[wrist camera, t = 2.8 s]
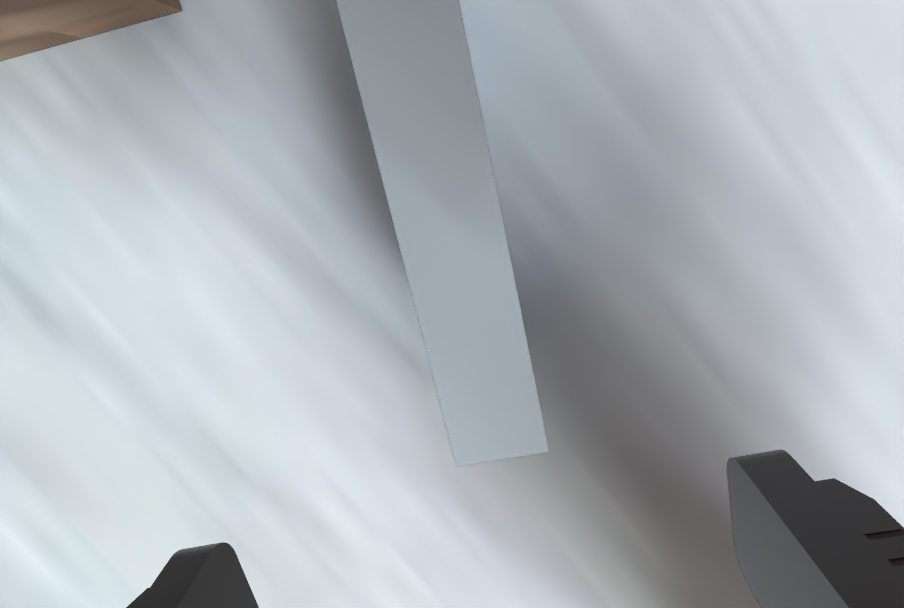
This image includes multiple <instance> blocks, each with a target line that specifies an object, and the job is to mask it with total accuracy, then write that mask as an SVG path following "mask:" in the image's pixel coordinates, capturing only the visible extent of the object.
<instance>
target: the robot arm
mask: <svg viewBox="0 0 904 608" xmlns="http://www.w3.org/2000/svg"><path fill="white" fill-rule="evenodd" d="M727 478H728V489H729V499H730V509H731V519H732V530H733V539H734V546H735V550H736V554H737V558H738V561H739V564H740V567H741V570H742V572H743V575H744V577H745V579H746V581H747V583H748V585H749V587H750V589H751V591H752V592H753V594H754V596H755V597H756V599H757V601H758V603H759V604H760V606H761V608H904V528H903V527H902V526H901V525H900V524H899V523H898V522H897V521H896V520H895V519H894V518H893V517H892V516H891V515H890V514H889V513H888V512H887V511H886V510H885V509H883V508H882V507H881V506H880V505H879V504H878V503H877V502H876V501H875V500H874V499H872V498H870V497H868V496H866V495H865V494H863V493H861V492H859V491H857V490H855V489H853V488H851V487H849V486H847V485H846V484H844V483H842V482H840V481H838V480H836V479H827V480H821V481H814V480H813V479H812V478H811V477H810V476H809V475H808V474H807V473H806V472H805V471H804V470H803V468H802V467H801V466H800V465H799V464H798V463H797V462H796V461H795V460H794V459H793V458H792V457H791V456H790V455H789V454H788V453H787V452H786V451H784V450H775V451H769V452H764V453H758V454H752V455H746V456H740V457H734V458H730V459H729V460H728V462H727ZM127 608H259V607H258V605H257V602H256V600H255V598H254V595H253V593H252V591H251V588H250V586H249V584H248V581H247V579H246V577H245V574H244V572H243V569H242V567H241V565H240V562H239V560H238V558H237V555H236V553H235V551H234V549H233V548H232V547H231V546H230V545H229V544H228V543H224V542H223V543H217V544H211V545H205V546H199V547H193V548H187V549H182V550H179V551H177V552H176V553H175V554H174V555H173V556H172V557H171V558H170V560H169V561H168V563H167V564H166V566H165V567H164V568H163V570H162V571H161V573H160V574H159V576H158V577H157V579H156V580H155V581H154V583H153V584H152V586H151V587H150V588H147V589H146V590H145V591H144V592H143V593H142V594H141V595H140V596H138V597H137V598H136V599H135V600H134V601H133V602H132V603H131V604H130V605H129V606H128V607H127Z"/></svg>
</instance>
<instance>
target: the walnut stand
mask: <svg viewBox="0 0 904 608" xmlns="http://www.w3.org/2000/svg"><path fill="white" fill-rule="evenodd" d="M180 11H182V8H181V5H180V2H179V0H0V61H3V60H6V59H10V58H14V57H17V56H21V55H24V54H28V53H32V52H35V51H39V50H43V49H46V48H50V47H53V46H57V45H61V44H64V43H68V42H72V41H75V40H79V39H82V38H86V37H90V36H93V35H97V34H100V33H104V32H108V31H111V30H115V29H119V28H122V27H126V26H129V25H133V24H137V23H140V22H144V21H148V20H151V19H155V18H158V17H162V16H166V15H169V14H173V13H177V12H180Z"/></svg>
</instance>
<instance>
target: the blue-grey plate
mask: <svg viewBox="0 0 904 608" xmlns="http://www.w3.org/2000/svg"><path fill="white" fill-rule="evenodd" d="M336 3H337V7H338V11H339V14H340V18H341V22H342V26H343V30H344V34H345V38H346V42H347V45H348V49H349V53H350V57H351V61H352V65H353V69H354V73H355V77H356V80H357V84H358V88H359V92H360V96H361V100H362V104H363V108H364V112H365V115H366V119H367V123H368V127H369V131H370V135H371V139H372V143H373V146H374V150H375V154H376V158H377V162H378V166H379V170H380V174H381V178H382V181H383V185H384V189H385V193H386V197H387V201H388V205H389V209H390V213H391V216H392V220H393V224H394V228H395V232H396V236H397V240H398V244H399V247H400V251H401V255H402V259H403V263H404V267H405V271H406V275H407V279H408V282H409V286H410V290H411V294H412V298H413V302H414V306H415V310H416V314H417V317H418V321H419V325H420V329H421V333H422V337H423V341H424V345H425V348H426V352H427V356H428V360H429V364H430V368H431V372H432V376H433V380H434V383H435V387H436V391H437V395H438V399H439V403H440V407H441V411H442V414H443V418H444V422H445V426H446V430H447V434H448V438H449V442H450V446H451V449H452V453H453V457H454V461H455V465H456V467H461V466H467V465H473V464H479V463H485V462H491V461H497V460H503V459H509V458H515V457H521V456H527V455H533V454H539V453H545V452H549V449H548V444H547V439H546V434H545V429H544V424H543V419H542V414H541V409H540V404H539V399H538V394H537V389H536V384H535V379H534V374H533V369H532V364H531V359H530V354H529V349H528V344H527V339H526V334H525V329H524V324H523V319H522V314H521V309H520V304H519V299H518V293H517V288H516V283H515V278H514V273H513V268H512V263H511V258H510V253H509V248H508V243H507V238H506V233H505V228H504V223H503V218H502V213H501V208H500V203H499V198H498V193H497V188H496V183H495V178H494V173H493V168H492V163H491V158H490V153H489V148H488V143H487V138H486V133H485V128H484V123H483V118H482V113H481V108H480V103H479V98H478V93H477V88H476V83H475V78H474V73H473V68H472V63H471V58H470V53H469V48H468V43H467V38H466V33H465V28H464V23H463V18H462V13H461V8H460V3H459V0H336Z"/></svg>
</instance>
